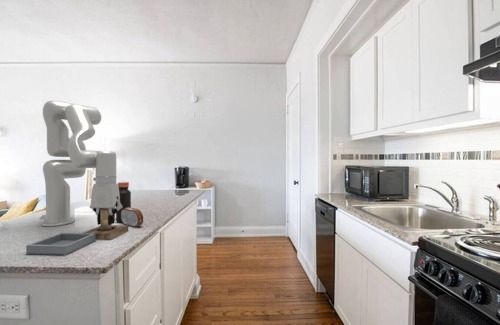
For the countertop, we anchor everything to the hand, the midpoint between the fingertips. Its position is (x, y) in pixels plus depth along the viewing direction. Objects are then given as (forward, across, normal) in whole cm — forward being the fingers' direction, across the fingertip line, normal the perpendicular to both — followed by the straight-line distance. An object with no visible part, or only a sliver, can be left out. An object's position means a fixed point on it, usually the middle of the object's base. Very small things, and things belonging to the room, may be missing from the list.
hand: (106, 223), depth 103 cm
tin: (+5, +3, +15) cm, 16 cm away
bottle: (+5, -6, +22) cm, 23 cm away
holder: (+5, 0, 0) cm, 5 cm away
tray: (+5, -6, -15) cm, 17 cm away
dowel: (+3, 0, 0) cm, 3 cm away
